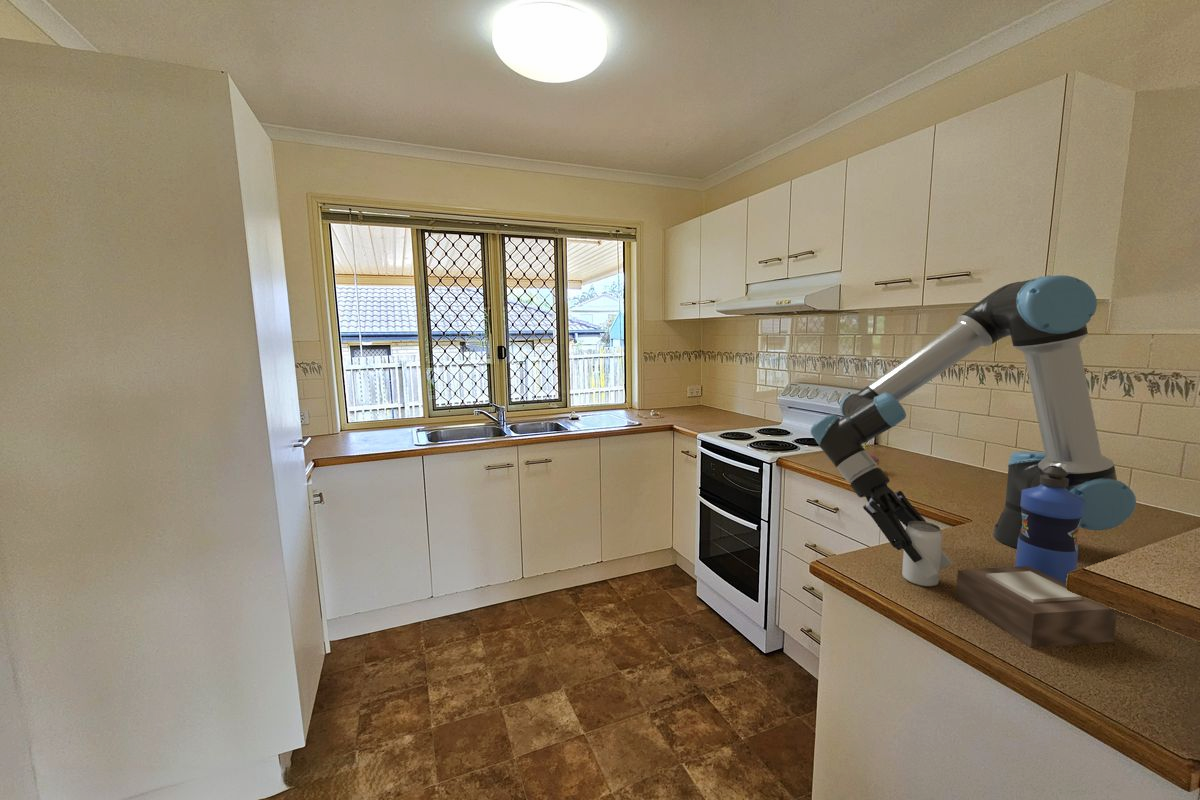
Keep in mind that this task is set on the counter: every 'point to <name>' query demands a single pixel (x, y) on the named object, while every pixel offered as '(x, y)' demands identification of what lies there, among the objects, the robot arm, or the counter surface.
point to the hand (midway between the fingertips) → (939, 570)
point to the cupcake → (872, 456)
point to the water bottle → (1050, 525)
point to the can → (930, 544)
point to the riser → (1035, 607)
